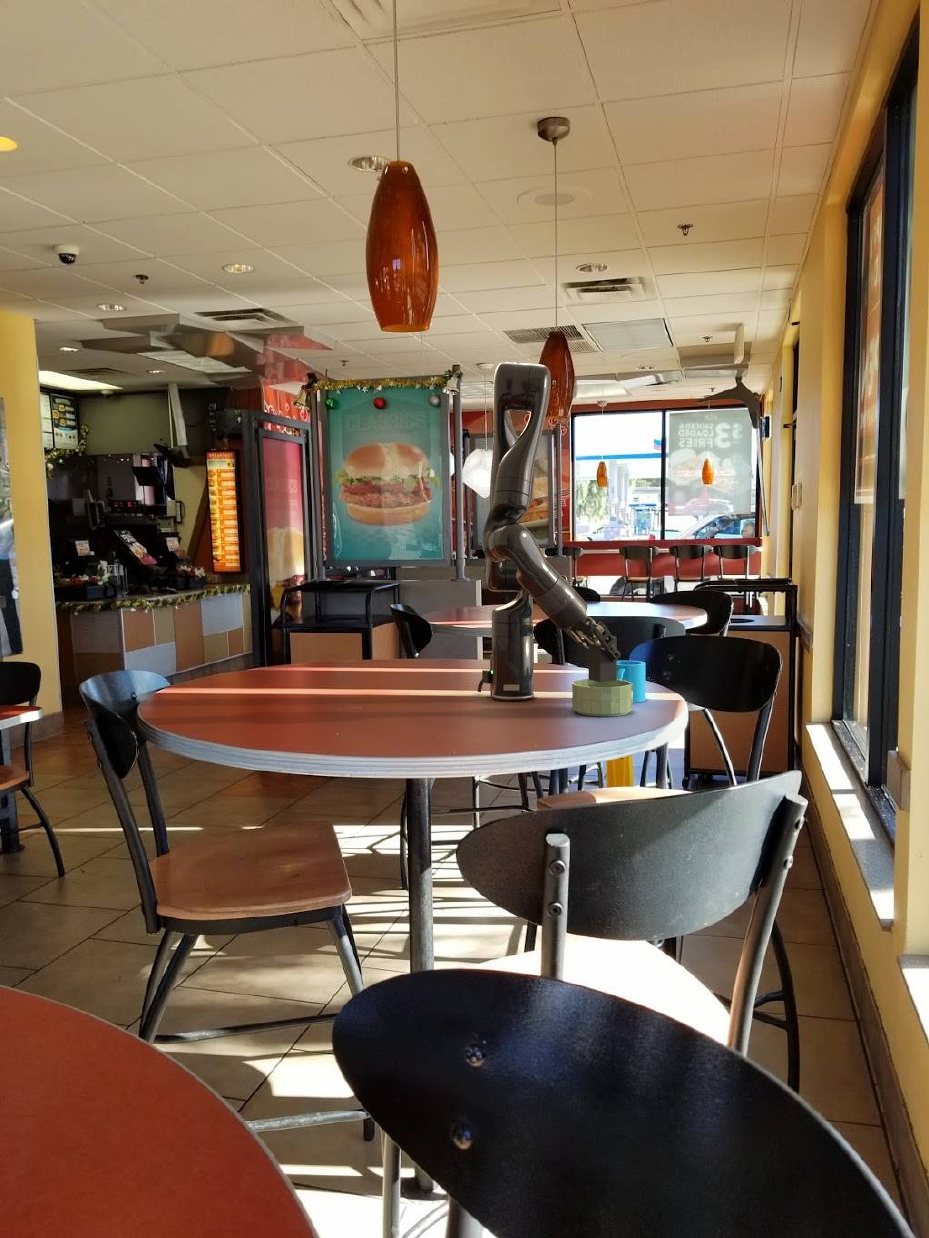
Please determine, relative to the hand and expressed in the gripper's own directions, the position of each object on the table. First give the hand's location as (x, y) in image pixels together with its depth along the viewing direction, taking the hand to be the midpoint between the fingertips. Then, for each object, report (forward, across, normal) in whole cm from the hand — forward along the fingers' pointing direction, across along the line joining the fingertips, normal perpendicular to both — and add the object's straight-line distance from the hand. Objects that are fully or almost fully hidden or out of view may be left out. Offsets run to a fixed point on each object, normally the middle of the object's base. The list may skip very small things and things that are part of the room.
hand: (610, 657), depth 190 cm
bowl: (+7, 0, +9) cm, 11 cm away
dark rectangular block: (+2, 0, +5) cm, 5 cm away
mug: (+15, +9, +1) cm, 17 cm away
